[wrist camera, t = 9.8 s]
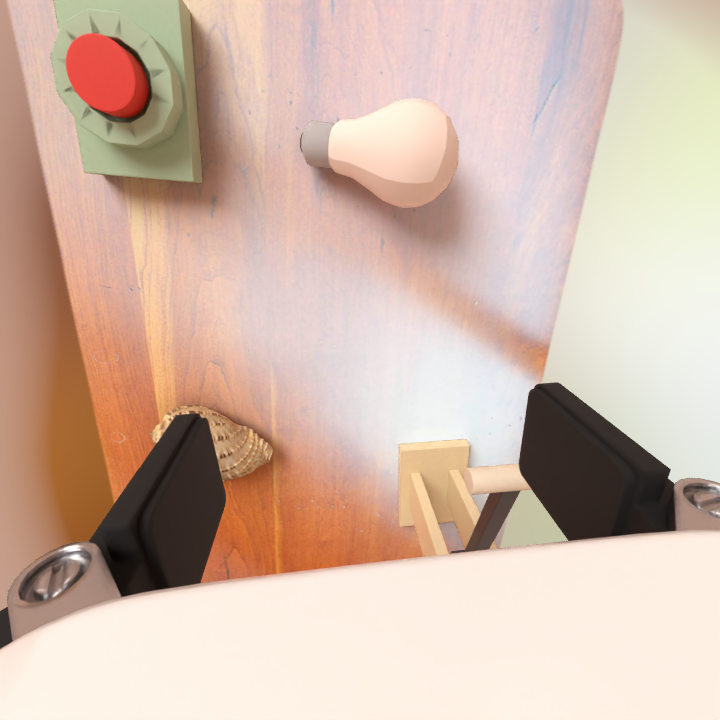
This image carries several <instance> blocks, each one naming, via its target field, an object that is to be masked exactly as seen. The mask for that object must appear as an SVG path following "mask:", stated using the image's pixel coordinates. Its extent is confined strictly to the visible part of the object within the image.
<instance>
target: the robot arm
mask: <svg viewBox="0 0 720 720" xmlns="http://www.w3.org/2000/svg"><path fill="white" fill-rule="evenodd" d="M519 470H520V473H521V475H522V477H523V478H524V479H525V481H526V482H527V484H528V485H529V486H530V488H531V489H532V490H533V492H534V493H535V495H536V496H537V497H538V499H539V500H540V501H541V503H542V504H543V506H544V507H545V508H546V510H547V511H548V513H549V514H550V516H551V517H552V518H553V520H554V521H555V522H556V524H557V525H558V527H559V528H560V529H561V531H562V532H563V533H564V535H565V536H566V538H567V539H568V541H564V542H554V543H545V544H536V545H527V546H518V547H508V548H498V549H489V550H480V551H471V552H462V553H453V554H444V555H435V556H426V557H418V558H409V559H400V560H391V561H383V562H374V563H365V564H357V565H348V566H340V567H331V568H323V569H315V570H306V571H298V572H289V573H281V574H273V575H264V576H256V577H248V578H239V579H231V580H223V581H215V582H207V583H200V582H201V579H202V576H203V573H204V569H205V566H206V563H207V560H208V557H209V554H210V551H211V548H212V545H213V541H214V538H215V535H216V532H217V529H218V526H219V523H220V520H221V516H222V513H223V510H224V507H225V502H226V493H225V489H224V484H223V480H222V476H221V472H220V468H219V463H218V459H217V455H216V451H215V447H214V442H213V438H212V434H211V430H210V426H209V422H208V419H207V418H201V416H200V414H199V413H193V414H181V415H176V416H175V417H174V419H173V420H172V422H171V423H170V424H169V426H168V427H167V429H166V430H165V432H164V433H163V435H162V436H161V438H160V439H159V441H158V442H157V443H156V445H155V446H154V448H153V449H152V451H151V452H150V454H149V455H148V457H147V458H146V460H145V461H144V463H143V464H142V465H141V467H140V468H139V469H138V470H137V472H136V473H135V475H134V476H133V478H132V479H131V481H130V482H129V484H128V485H127V486H126V488H125V489H124V491H123V492H122V494H121V495H120V497H119V498H118V500H117V501H116V502H115V504H114V505H113V507H112V508H111V510H110V511H109V513H108V514H107V516H106V517H105V519H104V520H103V521H102V523H101V525H100V526H99V527H98V529H97V530H96V532H95V533H94V535H93V536H92V537H91V539H90V540H89V542H74V543H71V544H67V545H63V546H61V547H58V548H56V549H54V550H52V551H49V552H48V553H46V554H44V555H43V556H41V557H39V558H38V559H36V560H35V561H34V562H33V563H31V564H30V565H29V566H27V567H26V568H25V569H24V570H23V571H22V572H21V573H20V574H19V576H17V578H16V579H15V580H14V581H13V583H12V585H11V587H10V589H9V591H8V596H7V605H8V607H6V608H5V609H3V610H1V611H0V720H720V483H717V482H714V481H710V480H705V479H700V478H686V479H681V480H679V481H678V482H676V483H675V484H674V483H673V482H672V481H670V480H669V479H668V476H669V473H670V469H669V468H668V467H667V466H665V465H664V464H663V463H661V462H660V461H659V460H658V459H656V458H655V457H654V456H653V455H651V454H650V453H648V452H647V451H646V450H645V449H643V448H642V447H641V446H640V445H638V444H637V443H636V442H635V441H633V440H632V439H631V438H629V437H628V436H627V435H626V434H624V433H623V432H622V431H620V430H619V429H618V428H616V427H615V426H614V425H613V424H611V423H610V422H609V421H607V420H606V419H605V418H604V417H602V416H601V415H600V414H598V413H597V412H596V411H595V410H593V409H592V408H591V407H589V406H588V405H587V404H586V403H584V402H583V401H582V400H580V399H579V398H578V397H577V396H575V395H574V394H573V393H571V392H570V391H569V390H568V389H566V388H565V387H564V386H562V385H561V384H559V383H544V384H537V385H536V386H535V388H534V389H532V390H530V392H529V396H528V403H527V410H526V417H525V424H524V431H523V438H522V444H521V451H520V458H519Z"/></svg>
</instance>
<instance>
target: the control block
mask: <svg viewBox="0 0 720 720" xmlns="http://www.w3.org/2000/svg"><path fill="white" fill-rule="evenodd" d="M54 6H55V11H56V17H57V23H58V28H59V32H58V35H57V38H56V41H55V43H54V46H53V49H52V52H51V62H52V67H53V73H54V78H55V83H56V88H57V92H58V94H59V95H60V97H61V98H62V100H63V101H64V103H65V104H66V106H67V107H68V109H69V110H70V112H71V113H72V115H73V116H74V118H75V123H76V129H77V134H78V140H79V145H80V151H81V156H82V162H83V168H84V172H85V173H91V174H99V175H110V176H122V177H133V178H145V179H157V180H169V181H180V182H192V183H203V179H202V166H201V152H200V138H199V125H198V111H197V97H196V84H195V70H194V56H193V43H192V29H191V15H190V11H189V9H188V8H187V6H186V5H185V4H184V2H183V1H182V0H54ZM88 33H96V34H101V35H104V36H106V37H108V38H110V39H112V40H113V41H115V42H116V43H118V44H119V45H120V46H121V47H123V48H124V49H125V50H127V51H128V52H129V53H131V54H132V55H133V56H134V57H135V58H136V59H137V61H138V62H139V63H140V65H141V66H142V68H143V70H144V72H145V74H146V77H147V80H148V86H149V95H148V100H147V103H146V105H145V107H144V108H143V110H142V111H141V112H140V113H138V114H137V115H135V116H133V117H130V118H119V117H115V116H112V115H109V114H107V113H104V112H102V111H99V110H97V109H95V108H93V107H91V106H90V105H88V104H87V103H86V102H85V101H83V100H82V99H81V97H80V96H79V95H78V94H77V93H76V91H75V90H74V88H73V86H72V85H71V82H70V80H69V77H68V74H67V70H66V55H67V51H68V49H69V46H70V45H71V43H72V42H73V41H74V40H75V39H76V38H77V37H79V36H81V35H84V34H88Z"/></svg>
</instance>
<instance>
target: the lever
mask: <svg viewBox="0 0 720 720" xmlns="http://www.w3.org/2000/svg"><path fill="white" fill-rule="evenodd" d="M464 480H465V485H466V488H467V491H468V493H469V494H471V495H474V494H486V493H490V494H489V496H488V498H487V501H486V503H485V505H484V508H483V510H482V512H481V514H480V517H479V519H478V521H477V524H476V526H475V528H474V530H473V533H472V535H471V537H470V540H469V542H468V544H467V547H466V549H465V550H460V551H452V552H451V554H453V553H462V552H471V551H480V550H489V549H490V547H491V545H492V543H493V541H494V539H495V538H496V536H497V534H498V532H499V530H500V528H501V526H502V524H503V523H504V521H505V519H506V517H507V515H508V513H509V511H510V509H511V508H512V506H513V504H514V502H515V500H516V498H517V496H518V495H519V492H520V491H521V490H530V489H531V488H530V486H529V485H528V484H527V482H526V481H525V479H524V478H523V477H522V475H521V473H520V470H519V464H508V465H496V466H484V467H472V468H466V469H465V472H464Z"/></svg>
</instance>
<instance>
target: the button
mask: <svg viewBox="0 0 720 720" xmlns="http://www.w3.org/2000/svg"><path fill="white" fill-rule="evenodd" d="M66 70H67V74H68V77H69V80H70V82H71V85H72V86H73V88H74V90H75V91H76V93H77V94H78V95H79V96H80V97H81V99H82V100H83V101H85V102H86V103H87V104H88V105H90V106H91V107H93V108H95V109H97V110H99V111H102V112H104V113H107V114H109V115H112V116H115V117H119V118H130V117H133V116H135V115H137V114H138V113H140V112H141V111H142V110H143V108H144V107H145V105H146V103H147V100H148V95H149V86H148V80H147V77H146V74H145V72H144V70H143V68H142V66H141V65H140V63H139V62H138V61H137V59H136V58H135V57H134V56H133V55H132V54H131V53H129V52H128V51H127V50H125V49H124V48H123V47H121V46H120V45H119V44H118V43H116V42H115V41H113V40H112V39H110V38H108V37H106V36H104V35H101V34H96V33H88V34H84V35H81V36H79V37H77V38H76V39H75V40H74V41H73V42H72V43H71V45H70V46H69V49H68V51H67V55H66Z"/></svg>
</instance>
